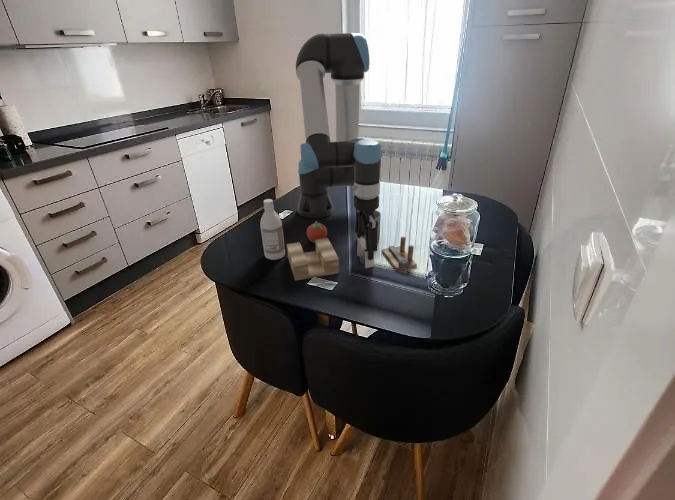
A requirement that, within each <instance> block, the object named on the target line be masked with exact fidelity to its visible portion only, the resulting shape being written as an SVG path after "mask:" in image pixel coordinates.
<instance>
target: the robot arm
mask: <svg viewBox="0 0 675 500" xmlns="http://www.w3.org/2000/svg"><path fill="white" fill-rule="evenodd" d="M295 60H296V61H295V75H296V78H297V79H298V80H299V83H300V84H299V85H300V94H301V95H300V96H301V104H302V105H301V106H302V115H303V117H302V118H303V125H304V136H305V137H304V138H305V143H301V144H300V147H299V148H300V151H299V152H300V159H299V161H298V167H297V168H298V171H297V172H298V173H297V174H298V177H299V178H298V180H299V192H300V193H299V200H298V203H297V207H296V208H297V214H298V215H299V216H301V217H303V218H306V219H307V218H308V219H321V218H326V217H328V216H330V215H332V214H333V212H334V204H333V202H332V199H331V196H330V193H329V188H340V187H352V189H353V194H354V196H353V207H354V209H355V226H354V228H355V229H354V232H355V234H356V238H357V237H358V241H357V252H356V253H357V254H356V255H357V257H360V236H361V235H365V239H366V249H364V251H365V264H364V268H365V269H368V268H373V267H374V266H375V252H378V243H377V227H378V221H374V219H375V216H374V213H373V212H374V211H375V210H376V211H377V209H379V207H380V193H381V191H380V190H381V165H382V164H381V162H382V159H381V158H382V155H383V154H382V145H381V143H380V142H379V141H377V140H374V139H365V138H362V137H359V134H360V133H359V129H360V127H359V124H360V84H361V82H362V81H363V80H364V77H365V73H367V72H369V70H370V52H369V45H368V41H367V38H366V37H365V35H364V34H362V33H357V32H343V33H342V32H340V33H339V32H338V33H318V34H315V35H313V36H311V37H310V38H308V39H307V41H305V42H304V44H303V45H302V47H300V50H299V51H298V54H297V56H296V59H295ZM326 74H330V79H331V81H333V83H334V85H335V133H336V134H335V141H331V137H330V136H331V135H330V127H329V118H328V117H329V116H328V112H327V110H328V109H327V100H326V92H325V85H324V78H325V76H326ZM367 225H368V226H367Z"/></svg>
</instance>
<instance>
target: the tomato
mask: <svg viewBox="0 0 675 500" xmlns="http://www.w3.org/2000/svg"><path fill="white" fill-rule="evenodd" d="M306 236H307V238H308V239H309V241H310V242H311V243H312V244H315V240H317V239H324V238H327V236H328V228H327V227H326V226H325V225H324V224H322V223H321V222H318V221H316V220H315V222H314V223H312V224H310V225H309V226H308V227H307V229H306Z"/></svg>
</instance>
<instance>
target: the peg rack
mask: <svg viewBox="0 0 675 500" xmlns="http://www.w3.org/2000/svg"><path fill="white" fill-rule="evenodd" d="M406 239H407V238H406V236H401V237H400V243H399V245H398V246H394V245H389V246H388V248H387V247H386V248H382V250H381V252H382V254H384V257H385V258H386V259H387V260H388V262H389V264H391V265H392V267H393V268H394V270H396V271H402V270H406V269H411V268H417V266H418V264H417V262H415V260H414V259H413V258H414V249H415V248H414V247H415V246H414V245H412V244H409V245H408V247H407V248H408V251H406Z"/></svg>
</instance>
